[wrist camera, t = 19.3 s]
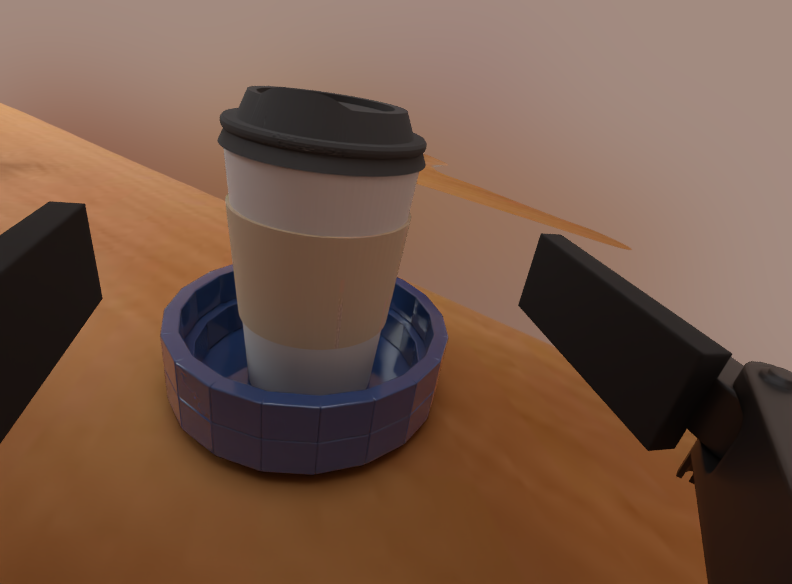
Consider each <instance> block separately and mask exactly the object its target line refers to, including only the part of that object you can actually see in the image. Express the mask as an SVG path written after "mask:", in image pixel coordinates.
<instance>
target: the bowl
mask: <svg viewBox="0 0 792 584" xmlns="http://www.w3.org/2000/svg"><path fill="white" fill-rule="evenodd" d="M160 337H161V346H162V354H163V362H164V371H165V379H166V387H167V395H168V400H169V402H170V405H171V407H172V409H173V411H174V413H175V415H176V418H177V420H178V422H179V424H180V426H181V428H182V429H183V430H184V431H185V432H187V433H188V434H189V435H190V436H192V437H193V438H194V439H195V440H197V441H198V442H199V443H200V444H201V445H203V446H204V447H205V448H206V449H208V450H209V451H210V452H211V453H213V454H214V455H215V456H218V457H221V458H224V459H227V460H230V461H232V462H235V463H238V464H241V465H244V466H247V467H249V468H252V469H255V470H258V471H262V472H276V473H292V474H308V475H314V474H320V473H325V472H331V471H336V470H341V469H346V468H351V467H356V466H361V465H364V464H367V463H369V462H371V461H373V460H375V459H377V458H379V457H381V456H383V455H385V454H387V453H389V452H390V451H392V450H394V449H396V448H398V447H400V446H402V445H403V444H405V443H406V442H407V441H408V439H409V438H410V437H411V436H412V435H413V434H414V433H415V432H416V431H417V430H418V428H419V427H420V426H421V425H422V424H423V423H424V422H425V421H426V420H427V418H428V415H429V412H430V409H431V405H432V402H433V399H434V396H435V392H436V388H437V384H438V380H439V375H440V371H441V367H442V363H443V358H444V354H445V350H446V346H447V342H448V334H447V331H446V327H445V323H444V319H443V316H442V314H441V313H440V312H439V310H438V309H437V308H436V307H435V306H434V304H433V303H432V302H431V301H430V299H429V298H428V297H427V296H426V295H425V294H423V293H422V292H420V291H419V290H417V289H416V288H415V287H413V286H412V285H410V284H409V283H407V282H406V281H404V280H402V279H400V278H398V277H397V278H396V283H395V287H394V291H393V295H392V299H391V303H390V307H389V312H388V316H387V320H386V323H385V325H384V327H383V329H382V330H381V333H380V338H379V342H378V346H377V350H376V354H375V359H374V363H373V367H372V371H371V375H370V380H369V383H368V386H367V388H366V389H365V390H357V391H350V392H342V393H334V394H327V395H310V394H297V393H285V392H273V391H266V390H263V389H260V388H257V387H254V386H252V385H251V383H250V380H249V375H248V366H247V357H246V348H245V339H244V330H243V322H242V320H241V318H240V316H239V312H238V304H237V295H236V287H235V278H234V270H233V264H232V265H229V266H226V267H223V268H220V269H217V270H214V271H210V272H209V273H207V274H205V275H203V276H202V277H200V278H198V279H197V280H195V281H193V282H192V283H190V284H188V285H186V286H185V287H183V288H182V289H181V290H180V291H179V292H178V293H177V295H176V296H175V297H174V298H173V299H172V301H171V302H170V303H169V304H168V305H167V307H166V308H165V310H164V314H163V320H162V327H161V333H160Z"/></svg>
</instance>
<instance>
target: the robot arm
mask: <svg viewBox="0 0 792 584" xmlns="http://www.w3.org/2000/svg"><path fill="white" fill-rule="evenodd" d="M102 299H103V298H102V293H101V287H100V282H99V277H98V271H97V266H96V261H95V255H94V250H93V245H92V239H91V234H90V228H89V223H88V218H87V212H86V207H85V204H80V203H65V202H48V203H47V204H45V205H44V206H42V207H41V208H39V209H38V210H36V211H35V212H33V213H32V214H31V215H29V216H28V217H26V218H25V219H23V220H22V221H20V222H19V223H17V224H16V225H14V226H13V227H11V228H10V229H9V230H7V231H6V232H4V233H3V234H1V235H0V443H1V442H2V441H3V439H4V438H5V436H6V435H7V433H8V432H9V431H10V429H11V428H12V426H13V425H14V423H15V422H16V421H17V419H18V418H19V416H20V415H21V414H22V412H23V411H24V409H25V408H26V406H27V405H28V404H29V402H30V401H31V399H32V398H33V397H34V395H35V394H36V392H37V391H38V389H39V388H40V387H41V385H42V384H43V382H44V381H45V379H46V378H47V377H48V375H49V374H50V372H51V371H52V370H53V368H54V367H55V365H56V364H57V362H58V361H59V360H60V358H61V357H62V355H63V354H64V352H65V351H66V350H67V348H68V347H69V345H70V344H71V343H72V341H73V340H74V338H75V337H76V335H77V334H78V333H79V331H80V330H81V328H82V327H83V325H84V324H85V323H86V321H87V320H88V318H89V317H90V316H91V314H92V313H93V311H94V310H95V308H96V307H97V306H98V304H99V303H100V301H101V300H102ZM518 306H519V307H520V308H521V309H522V310H523V311H524V312H525V313H526V315H527V316H528V317H529V318H530V319H531V320H532V321H533V322H534V323H535V325H536V326H537V327H538V328H539V329H540V330H541V331H542V333H543V334H544V335H545V336H546V337H547V338H548V339H549V340H550V341H551V343H552V344H553V345H554V346H555V347H556V348H557V349H558V350H559V352H560V353H561V354H562V355H563V356H564V357H565V358H566V359H567V361H568V362H569V363H570V364H571V365H572V366H573V367H574V368H575V370H576V371H577V372H578V373H579V374H580V375H581V376H582V377H583V378H584V380H585V381H586V382H587V383H588V384H589V385H590V386H591V387H592V389H593V390H594V391H595V392H596V393H597V394H598V395H599V396H600V398H601V399H602V400H603V401H604V402H605V403H606V404H607V405H608V407H609V408H610V409H611V410H612V411H613V412H614V413H615V414H616V415H617V417H618V418H619V419H620V420H621V421H622V422H623V423H624V424H625V426H626V427H627V428H628V429H629V430H630V431H631V432H632V433H633V435H634V436H635V437H636V438H637V439H638V440H639V441H640V442H641V444H642V445H643V446H644V447H645V448H646V449H647V450H648V451H652V450H664V449H675V447H676V445H677V444H678V442H679V440H680V439H681V437H682V436H683V434H684V432H685V431H686V429H688V430H689V431H690V432H691V433H692V434H693V435H695V436H696V437H697V438H698V439H697V441H696V442H695V444H694V445H693V447H692V449H691V450H690V452H689V453H688V455H687V456H686V458H685V460H684V461H683V463H682V464H681V466H680V467H679V469H678V471H677V475H676V476H677V477H679V478H682V477H683V475H684V474H685V472H687V471H693V475H692V477H691V478H690V480H689V482H691V483H693V484H695V489H696V497H697V504H698V512H699V519H700V527H701V534H702V542H703V549H704V557H705V564H706V572H707V579H708V584H792V372H790V371H788V370H786V369H783V368H780V367H776V366H774V365H770V364H767V363H763V362H752V361H751V362H748V363H746V364H745V365H744V366H743V365H742V364H740V363H739V362H737V361H736V360H734V359H733V358H732V357H731V355H732V353H731V352H729V351H727V350H726V349H725V348H723V347H722V346H720V345H719V344H718V343H716V342H715V341H713V340H712V339H710V338H709V337H707V336H706V335H705V334H703V333H702V332H700V331H699V330H697V329H696V328H695V327H693V326H692V325H690V324H689V323H687V322H686V321H685V320H683V319H682V318H680V317H679V316H677V315H676V314H674V313H673V312H672V311H670V310H669V309H667V308H666V307H664V306H663V305H661V304H660V303H659V302H657V301H656V300H654V299H653V298H651V297H650V296H648V295H647V294H646V293H644V292H643V291H641V290H640V289H638V288H637V287H636V286H634V285H633V284H631V283H630V282H628V281H627V280H625V279H624V278H623V277H621V276H620V275H618V274H617V273H615V272H614V271H612V270H611V269H610V268H608V267H607V266H605V265H604V264H602V263H601V262H599V261H598V260H597V259H595V258H594V257H592V256H591V255H589V254H588V253H587V252H585V251H584V250H582V249H581V248H579V247H578V246H577V245H575V244H574V243H572V242H571V241H569V240H568V239H566V238H565V237H564V236H562V235H556V234H541V235H540V238H539V241H538V245H537V248H536V251H535V254H534V257H533V260H532V264H531V267H530V270H529V273H528V276H527V279H526V283H525V286H524V289H523V292H522V295H521V298H520V302H519V305H518Z"/></svg>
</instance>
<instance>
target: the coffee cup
mask: <svg viewBox="0 0 792 584" xmlns="http://www.w3.org/2000/svg"><path fill="white" fill-rule="evenodd" d="M220 123H221V125H222V127H223V129H222V131H221V134H220V135H219V138H218V143H219V144H220V145H221V146H222V147H223V148H224V156H225V164H226V175H227V184H228V192H229V193H228V194H227V196H226V199H225V202H226V210H227V219H228V227H229V236H230V244H231V253H232V261H233V270H234V278H235V287H236V295H237V304H238V312H239V316H240V318H241V320H242V322H243V330H244V339H245V348H246V357H247V366H248V375H249V380H250V383H251V385H252V386H254V387H257V388H260V389H263V390H266V391H273V392H285V393H297V394H310V395H327V394H334V393H342V392H350V391H357V390H365V389H366V388H367V386H368V383H369V380H370V375H371V371H372V367H373V363H374V359H375V354H376V350H377V346H378V342H379V338H380V333H381V330H382V329H383V327H384V325H385V323H386V320H387V316H388V312H389V307H390V303H391V299H392V295H393V291H394V287H395V283H396V278H397V274H398V270H399V266H400V262H401V258H402V254H403V249H404V245H405V241H406V237H407V233H408V229H409V225H410V221H411V214H410V207H411V203H412V198H413V194H414V191H415V186H416V182H417V178H418V174H419V171H421V170H423V169H424V168H425V160H424V156H423V153H424V152H425V149H426V142H425V140H424V139H423V138H422V137H421V136H419V135H417V134H415V133H413V132H412V128H411V124H410V119H409V115H408V111H407V110H405V109H403V108H401V107H398V106H394V105H391V104H387V103H382V102H378V101H374V100H369V99H363V98H358V97H353V96H347V95H341V94H335V93H328V92H321V91H313V90H305V89H297V88H286V87H273V86H251V87H248V88H247V90H246V92H245V94H244V97H243V99H242V101H241V104H240V106H239V108H234V109H228V110H225V111H224V112H223V113H222V114H221V115H220Z"/></svg>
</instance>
